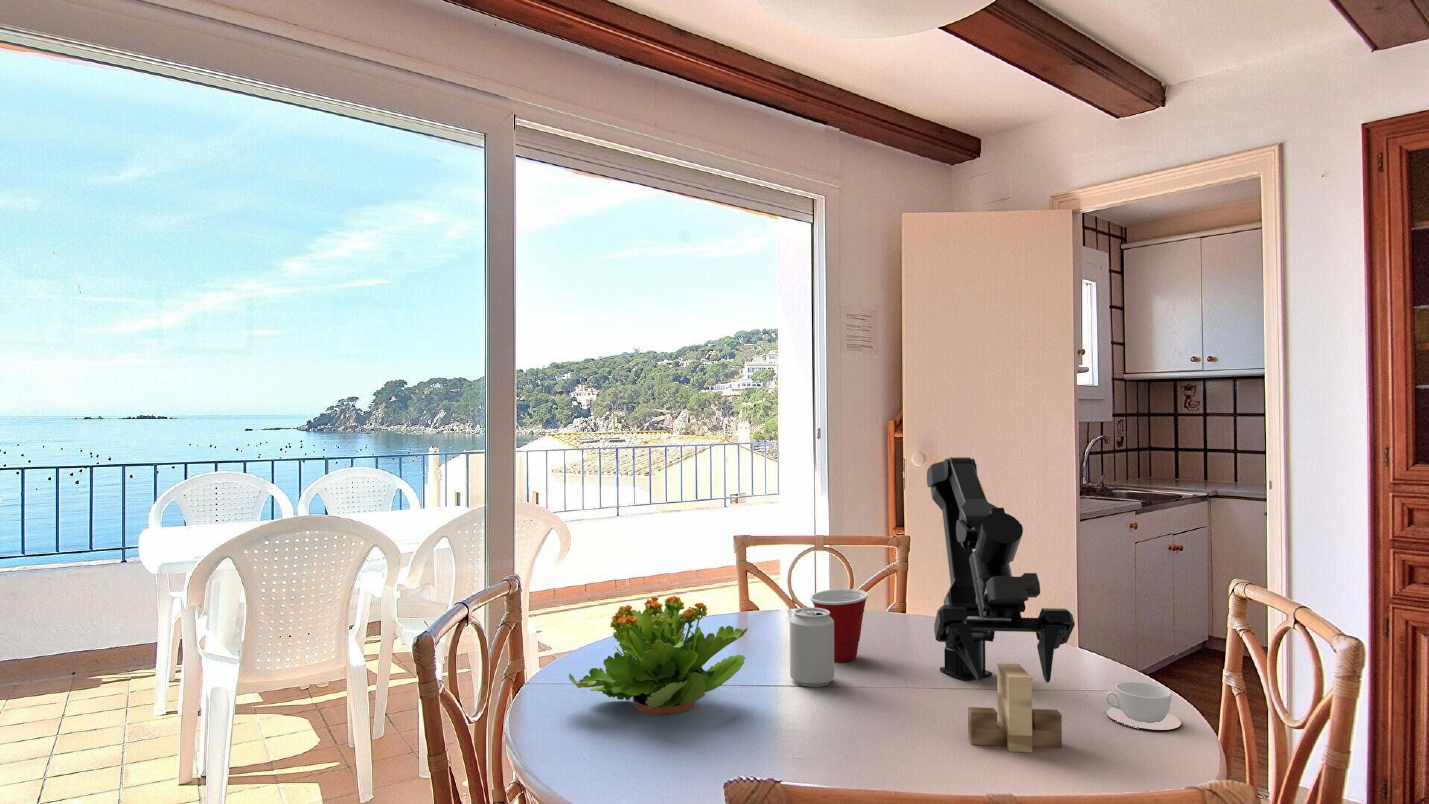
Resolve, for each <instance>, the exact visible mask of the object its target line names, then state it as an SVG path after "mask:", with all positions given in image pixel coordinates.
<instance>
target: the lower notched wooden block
mask: <svg viewBox="0 0 1429 804" xmlns="http://www.w3.org/2000/svg"><path fill="white" fill-rule="evenodd" d="M1062 717H1063V716H1062V713H1061V712H1060V711H1059V710H1058V709H1047V708H1046V709H1045V708H1043V709H1042V708H1032V748H1033V747H1035V748H1036V747H1037V748H1040V747H1041V748H1063V739H1062V738H1063V732H1062V731H1063V730H1062V729H1063V726H1062V724H1063V723H1062V721H1063V720H1062ZM967 724H968V725H967V730H968V731H967V732H968V733H967V735H968V737H967V739H968V741H969V743H970V744H971V745H974V746H975V745H977V746H1002V747H1003V746H1004V747H1005V746H1006V747H1007V731H1006V730H1005V729H1004V727H1003V726H1002V724H998V711H997V710H996V708H995V707H979V706H978V707H977V706H976V707H973V706H972V707H971V706H970V707H969V706H967Z"/></svg>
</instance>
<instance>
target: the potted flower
mask: <svg viewBox="0 0 1429 804" xmlns="http://www.w3.org/2000/svg"><path fill="white" fill-rule="evenodd" d="M649 598H650V599H649ZM649 598H647V599H646V601H645V603H643V604H644V606H645V609H643V611H642V612H641V610H640V609H639V610H636V609H633V606H631V605H630V604H626V605H625V606H623V605H621V606H620V605H619V608H618V609H617V612H615V614H614V615H612V616H611V622H610V625H609V626H610V628H613V630H614V632H613V633H612V635H613V637H614V639H615V640H616V642H617V643H619V644H618V646H619V647H620V648H621V651H622V652H621V651H620V650H619V648H618V647H616V646H615V647H614V648H615V649H616V650H617V651H615V653H614V654H613V656H610V655H607V658H605V659H604V660H603V666H605V671H604V669H603V668H602V667H599V669H598V667H592V668H590V669H589V672H588V675H584V676H583V677H582V678H581V679H579V681H578V682H577V680H576V679H575V677H574V676H573V674H572V673H569V674H568V678H569V681H571V683H573V684H574V685H575V686H576V688H578V689H581V688H590V689H589V691H592V692H593V691H594V692H602V694H603V695H606V696H608V698H615V697H616V699H617V700H621V701H622V700H624V699H625V700H626V701H629V700H631V698H632V700H633V705H634V708H635V709H637V711H639V712H641V713H644V714H651V715H655V716H656V715H658V716H660V715H663V716H664V714H667V715H676V714H680V713H685V712H686V711H688V710H689V711H690V710H691V709H692V708H693V707H694V706H695V703H696V701H698V700H700V699H702V698H703V697H705V695H706V693H708V692H711V691H714V690H715V689H717V688H719V687H720V686H722V685H723V684H724V683H726V682H727V681H728V680H730V679H732V677H733V676H735V674H737V672H739V671H740V670H741V668H742V667H743V665H744V663H745V656H744V655H742V654H736V655H730V656H728V657H727V658H726V657H724V658H723V659H722V660H721V661H717V662H716V663H715V664H714V665H710V666H709V668H708V669H707V670H705V669H703V666H704V665H705V664H706V663H707V662H708V661H709V660H710V659H712V658H713V657H714V656H715V655H717V654H718V653H719V652H720V651H722V650H723V649H725V648H726V647H727V646H729V645H731V644H732V643H734V642H736V641H737V640H738V639H740V638H741V637H743V636H744V635H745V633H747V631H748V627H746V628H745V629H742V628H736V629H734V627H733V626H732V625H727V626H726V627H724V626H723V625H721V626H719V628H718V631H717V632H716V635H715V634H714V633H713V632H710V633H708V634H707V635H706V637H705V634H704V633H703V632H702V629H701V627H700V626H699V624H700V621H701V620H702V619H703V617H707V614H708V612H707V611H708V607H707V604H705V603H704V602H698V603H694V604H693V605H694V607H692V606H688V608H687V609H685V608H686V606H684V605H685V603H684V601H682V599H681V597H679V596H676V595H673V596H669V597H666V598H665V599H664V606H665V608H664V609H663V608H662V607H663V603H661V602H659V601H658V600H659V597H657V596H649ZM684 609H685V610H684ZM682 610H684V611H682ZM680 611H682V613H680ZM695 621H696V626H695V629H694V632H693V631H691V629H692V628H693V627H694V624H692V623H693V622H695ZM686 624H688V625H687V626H688V628H685V626H686ZM685 630H687V631H686V634H685V632H684V631H685ZM690 634H691V635H690ZM689 635H690V636H689Z"/></svg>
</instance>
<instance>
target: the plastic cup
mask: <svg viewBox="0 0 1429 804" xmlns="http://www.w3.org/2000/svg"><path fill="white" fill-rule="evenodd" d="M809 596H810V597H809V599H810V601H811V602H812V604H813V608H822V609H826V610H828V611H830V614H829V616H830V617H831V618H832V619H833V620H834V662H838V663H847V662H852V661H855V660H857V656H858V650H859V643H860V640H861V631H862V625H863V618H864V617H863V616H864V612H865V606H866V601H867V599H868V597H869V594H868V592H867V591H865V590H862V589H856V588H833V589H826V590H820V591H818V592H813V593H812V594H811V595H809Z"/></svg>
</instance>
